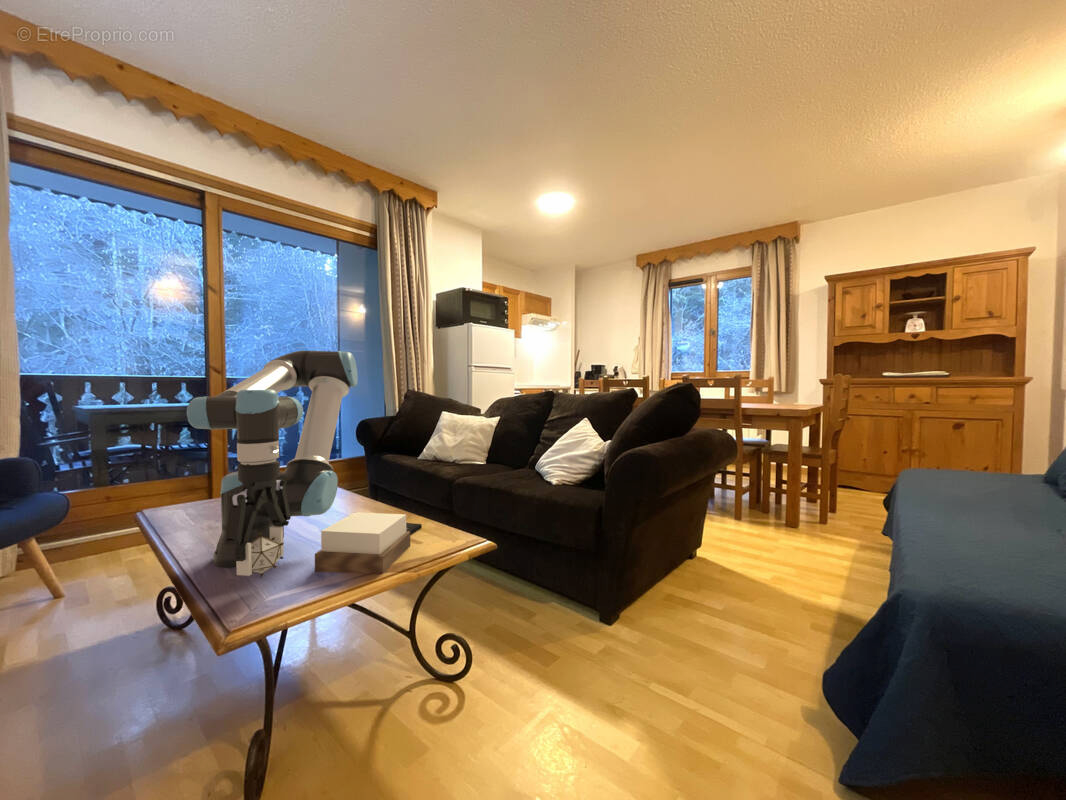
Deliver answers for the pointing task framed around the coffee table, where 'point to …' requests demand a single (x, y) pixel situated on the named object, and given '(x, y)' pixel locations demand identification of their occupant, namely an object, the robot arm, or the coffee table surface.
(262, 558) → the game die
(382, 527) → the cream slab
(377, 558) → the walnut slab
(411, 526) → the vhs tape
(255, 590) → the coffee table surface
